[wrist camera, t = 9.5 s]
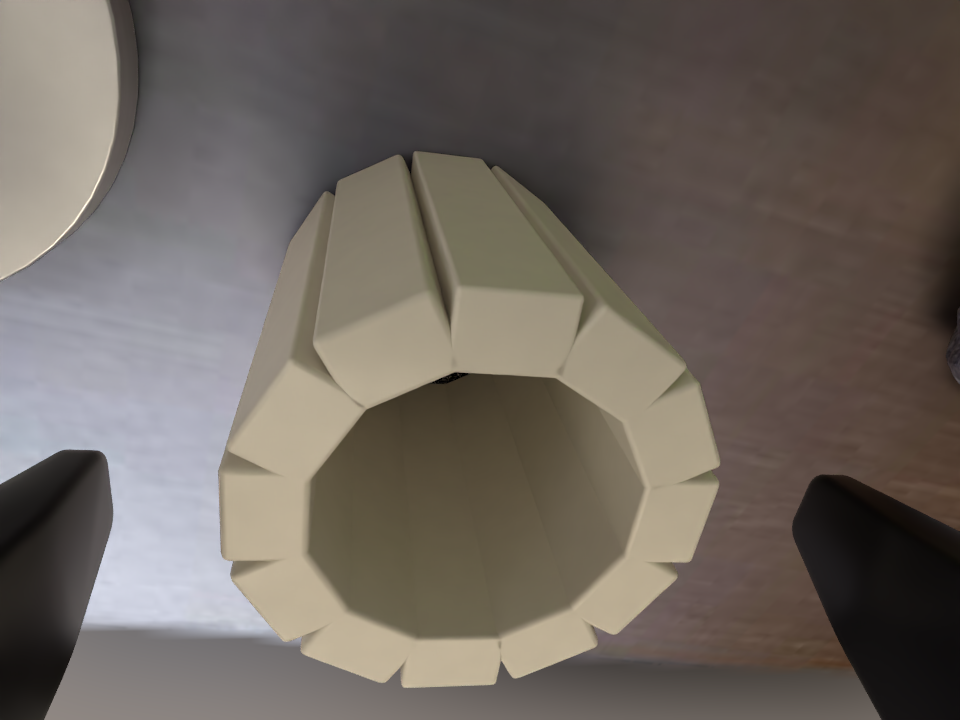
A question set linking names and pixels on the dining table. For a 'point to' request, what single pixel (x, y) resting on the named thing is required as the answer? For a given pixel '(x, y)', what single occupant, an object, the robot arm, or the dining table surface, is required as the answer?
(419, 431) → the beige fluted tube
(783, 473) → the dining table surface
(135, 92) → the stand
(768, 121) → the dining table surface
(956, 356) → the seashell
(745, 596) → the dining table surface
